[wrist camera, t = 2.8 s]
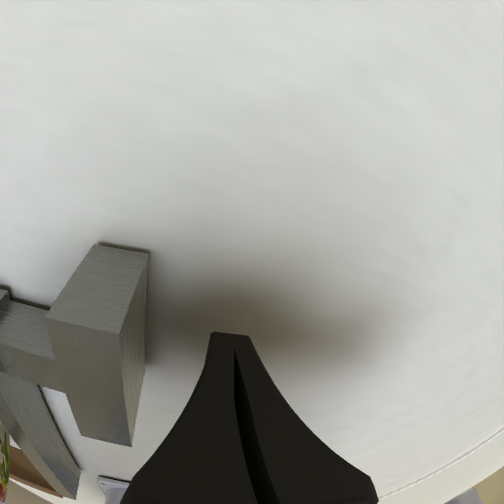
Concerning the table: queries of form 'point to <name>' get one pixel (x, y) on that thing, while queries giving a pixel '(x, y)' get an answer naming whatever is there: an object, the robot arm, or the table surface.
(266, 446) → the robot arm
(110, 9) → the table surface
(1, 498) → the pitcher
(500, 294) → the table surface
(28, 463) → the walnut holder
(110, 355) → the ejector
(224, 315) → the table surface
